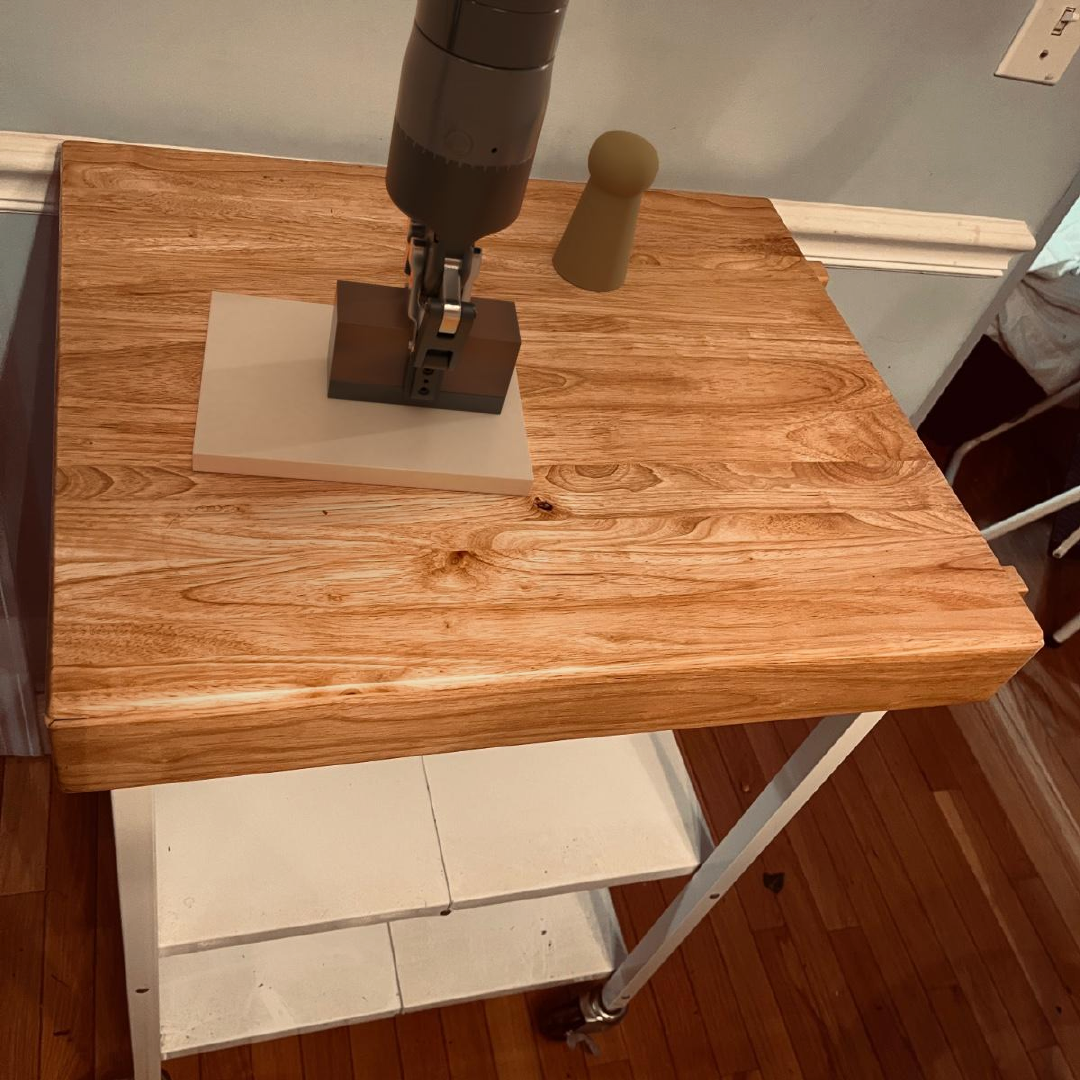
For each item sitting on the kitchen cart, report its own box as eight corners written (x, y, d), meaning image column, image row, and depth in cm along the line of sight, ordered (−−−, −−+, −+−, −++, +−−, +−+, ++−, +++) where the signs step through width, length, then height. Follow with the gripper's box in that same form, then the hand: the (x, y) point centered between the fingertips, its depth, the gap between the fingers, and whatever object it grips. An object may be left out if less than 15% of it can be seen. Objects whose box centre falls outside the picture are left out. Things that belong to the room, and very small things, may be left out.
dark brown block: (327, 398, 66) (337, 321, 61) (327, 356, 68) (336, 278, 64) (500, 415, 69) (522, 342, 64) (494, 374, 71) (515, 301, 67)
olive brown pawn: (614, 248, 88) (657, 123, 80) (634, 294, 84) (680, 168, 76) (544, 242, 86) (581, 114, 78) (562, 289, 82) (602, 159, 74)
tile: (192, 471, 61) (192, 452, 60) (211, 308, 71) (211, 290, 70) (528, 496, 67) (534, 480, 65) (504, 341, 76) (509, 325, 75)
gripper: (556, 208, 52) (485, 457, 64) (523, 67, 61) (466, 309, 73) (401, 185, 50) (359, 446, 62) (391, 43, 59) (356, 296, 71)
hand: (417, 371), depth 68 cm, fingers closed on dark brown block, 4 cm apart
